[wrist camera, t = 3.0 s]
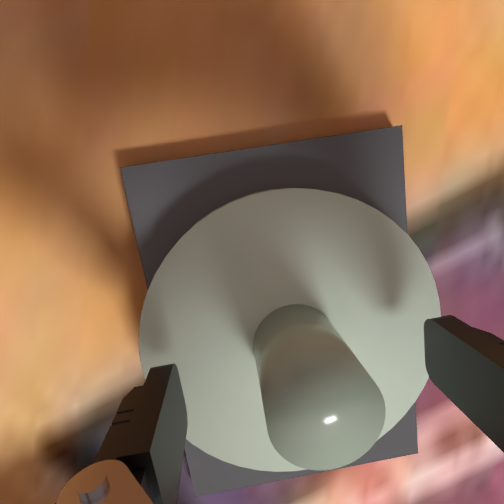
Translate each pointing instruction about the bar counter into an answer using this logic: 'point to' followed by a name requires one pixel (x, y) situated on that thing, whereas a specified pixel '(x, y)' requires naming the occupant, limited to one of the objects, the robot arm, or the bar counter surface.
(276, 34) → the bar counter surface
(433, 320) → the robot arm
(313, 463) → the lid
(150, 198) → the mat
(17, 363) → the bar counter surface
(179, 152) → the bar counter surface
